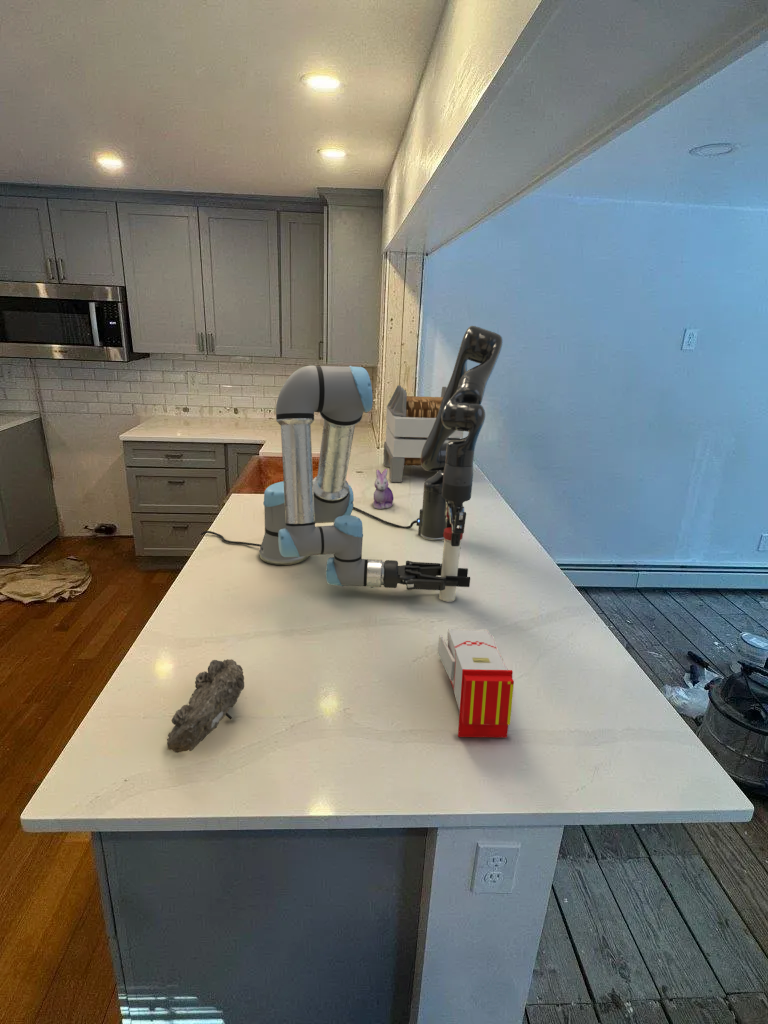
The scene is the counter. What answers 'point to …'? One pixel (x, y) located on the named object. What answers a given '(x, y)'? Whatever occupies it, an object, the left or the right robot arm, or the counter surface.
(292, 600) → the counter surface
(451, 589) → the jar
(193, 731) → the fossil
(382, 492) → the figurine
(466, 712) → the toy
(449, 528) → the lid
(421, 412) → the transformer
